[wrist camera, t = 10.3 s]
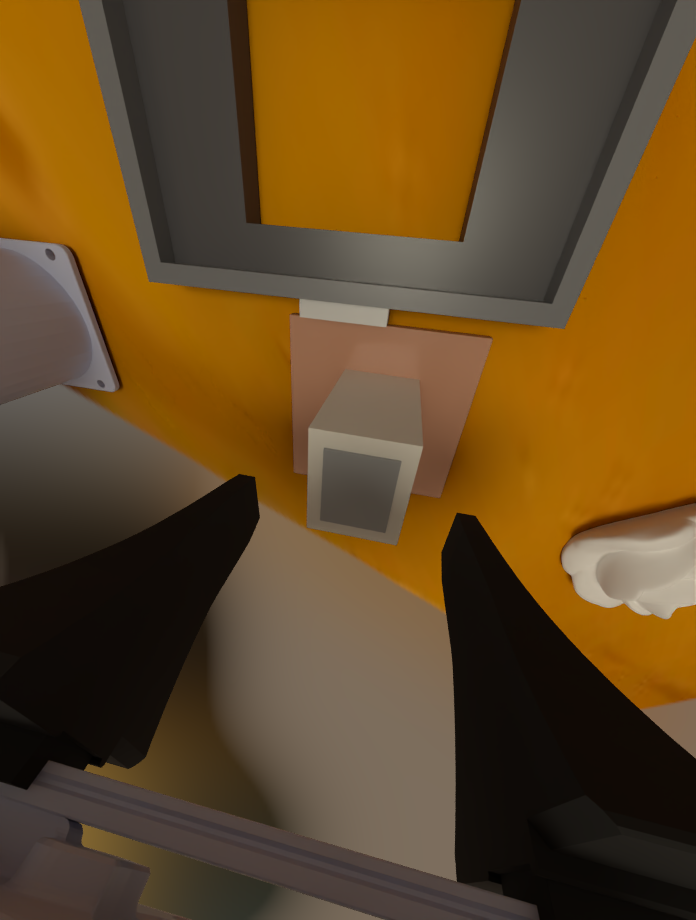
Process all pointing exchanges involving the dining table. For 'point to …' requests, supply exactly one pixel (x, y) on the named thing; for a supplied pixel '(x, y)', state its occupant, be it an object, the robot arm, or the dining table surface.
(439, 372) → the terracotta tile
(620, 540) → the rose
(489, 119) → the equipment case
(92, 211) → the dining table surface
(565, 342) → the dining table surface
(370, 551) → the dining table surface
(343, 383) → the block
